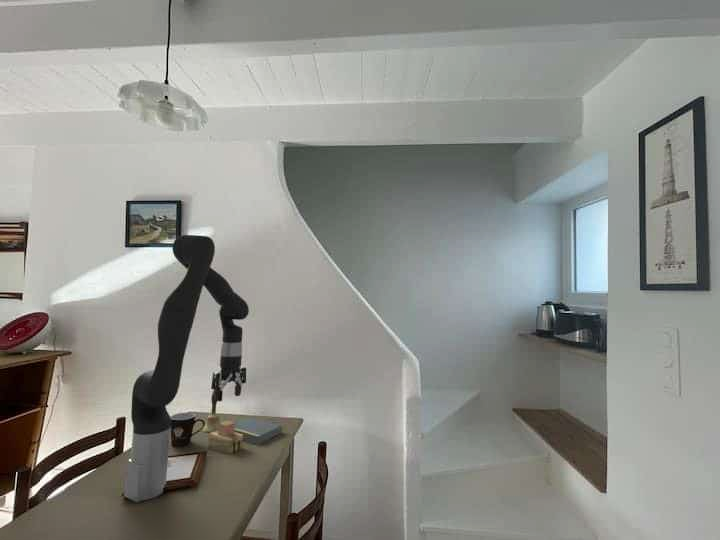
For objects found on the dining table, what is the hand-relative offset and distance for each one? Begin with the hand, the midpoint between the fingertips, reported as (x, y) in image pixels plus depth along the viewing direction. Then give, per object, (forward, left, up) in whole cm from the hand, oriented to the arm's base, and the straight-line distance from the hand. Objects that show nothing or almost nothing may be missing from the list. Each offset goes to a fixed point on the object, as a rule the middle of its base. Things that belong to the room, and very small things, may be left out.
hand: (228, 398), depth 131 cm
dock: (+15, +1, -18) cm, 23 cm away
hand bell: (+10, +19, -18) cm, 28 cm away
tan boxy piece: (0, 0, -18) cm, 18 cm away
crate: (0, 0, -13) cm, 13 cm away
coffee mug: (-6, +15, -18) cm, 24 cm away
